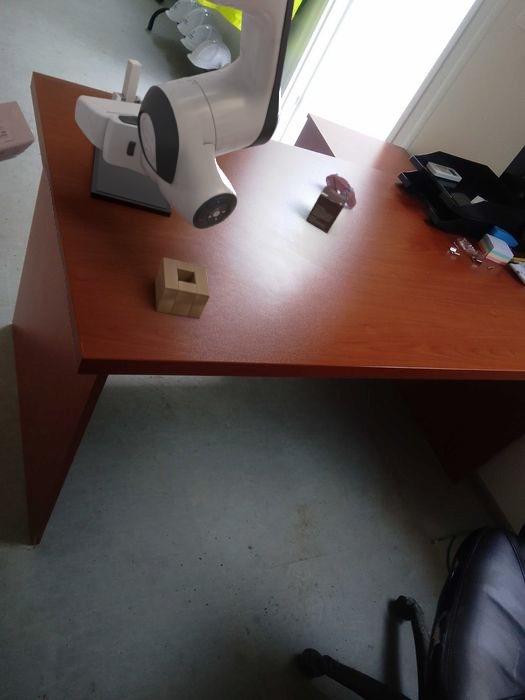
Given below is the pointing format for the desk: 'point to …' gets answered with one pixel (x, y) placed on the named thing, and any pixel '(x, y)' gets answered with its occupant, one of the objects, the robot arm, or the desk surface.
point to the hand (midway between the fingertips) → (124, 98)
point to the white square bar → (131, 80)
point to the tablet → (126, 187)
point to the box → (326, 209)
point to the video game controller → (342, 188)
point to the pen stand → (181, 288)
